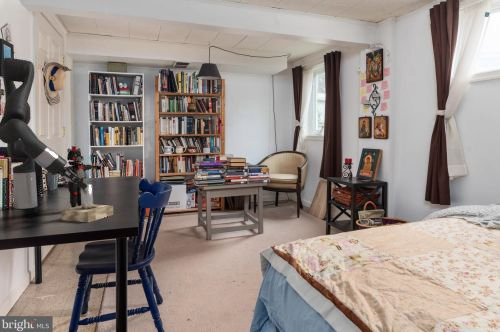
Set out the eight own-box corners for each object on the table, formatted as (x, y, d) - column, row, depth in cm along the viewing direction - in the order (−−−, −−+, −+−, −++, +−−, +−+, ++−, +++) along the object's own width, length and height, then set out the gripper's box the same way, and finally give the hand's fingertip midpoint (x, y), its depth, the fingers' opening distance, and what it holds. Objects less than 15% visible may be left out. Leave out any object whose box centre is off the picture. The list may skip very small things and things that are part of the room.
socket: (61, 219, 141) (61, 210, 141) (88, 212, 154) (87, 204, 154) (88, 222, 136) (87, 212, 136) (113, 214, 149) (112, 205, 149)
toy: (61, 219, 142) (57, 147, 139) (45, 218, 143) (41, 147, 141) (106, 205, 171) (103, 145, 169) (92, 204, 173) (89, 145, 170)
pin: (79, 218, 144) (78, 185, 142) (87, 215, 148) (86, 183, 147) (87, 219, 142) (86, 185, 141) (95, 216, 146) (94, 184, 145)
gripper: (60, 154, 131) (94, 181, 139) (54, 153, 142) (86, 178, 150) (45, 169, 128) (80, 195, 136) (40, 166, 140) (73, 191, 148)
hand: (83, 186), depth 143 cm, fingers open, 8 cm apart
